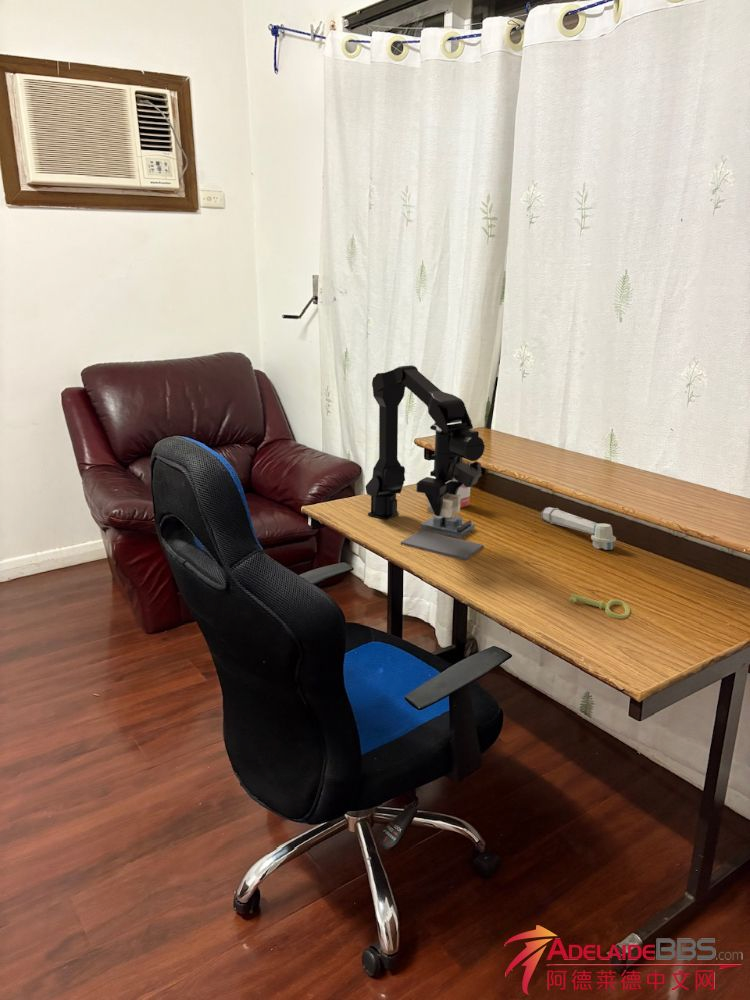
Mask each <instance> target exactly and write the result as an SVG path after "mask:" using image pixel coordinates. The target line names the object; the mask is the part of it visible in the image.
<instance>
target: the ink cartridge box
mask: <svg viewBox="0 0 750 1000" xmlns="http://www.w3.org/2000/svg"><path fill="white" fill-rule="evenodd" d="M456 495H459V496H461V502H460V509H461V508H464V507H468V506H470V504H471V503H470V502H471V501H470V500H471V499H470V498H471V487H466V486H464V484H463V485H462V486H461V487H459V489H458V492H457V494H456Z"/></svg>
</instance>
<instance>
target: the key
mask: <svg viewBox="0 0 750 1000" xmlns="http://www.w3.org/2000/svg"><path fill="white" fill-rule="evenodd" d="M569 601H570V602H572V603H576V602H579V603H583V604H587V605H590V606H593V607H596V608H599V609H600V610H602V609H603V610H604V611H605V614H606V615H607V616H608V617H610V618H612V619H619V620H620V619H625V618H627V617H629V616H630V615H631V608H630V606H629V605H628V604H627V603H626V601H623V600H621V599H610V600H608V602H607V603H606V602H605V601H604V600H601V601H598V600H596V599H592V598H589V597H585V596H582V595H578V594H575V593H571V595H570V598H569ZM615 605H617V606H618V605H619V606H622V608H624V613H621V614H618V613H615V612H613V611H612V610H611V609H610V608H611V607H612V606H615Z"/></svg>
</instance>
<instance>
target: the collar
mask: <svg viewBox="0 0 750 1000" xmlns="http://www.w3.org/2000/svg"><path fill="white" fill-rule="evenodd" d="M460 502H461V496H459V495H454V494H449V493H447V494H446V495H445V496H444V497H443V502H442V508H441V513H440V516H442V517H446V518H450V517H453V516H455V515H457V514H459V513H460V511H461V508H460ZM426 505H427V508H426V509H427V510H426V513H427V514H428V515H429V514H430V515H432V516H434V515H435V514H434V511H433V509H432V507H431V505H430V503H429V500H428V499H427V504H426ZM435 516H436V515H435Z"/></svg>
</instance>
